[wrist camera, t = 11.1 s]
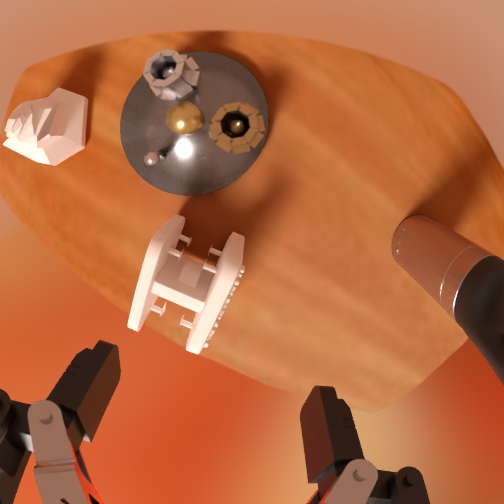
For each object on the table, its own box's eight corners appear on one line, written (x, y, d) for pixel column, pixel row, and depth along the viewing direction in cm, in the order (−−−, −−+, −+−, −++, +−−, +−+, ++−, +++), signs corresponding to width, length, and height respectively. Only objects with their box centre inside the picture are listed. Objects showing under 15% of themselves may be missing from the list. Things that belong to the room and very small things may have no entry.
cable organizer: (180, 203, 37) (152, 227, 27) (249, 233, 39) (248, 268, 28) (150, 289, 42) (124, 332, 32) (210, 314, 44) (199, 364, 33)
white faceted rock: (50, 84, 31) (12, 54, 17) (109, 113, 35) (77, 80, 21) (15, 147, 31) (-34, 136, 18) (70, 182, 35) (23, 179, 22)
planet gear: (206, 59, 29) (197, 44, 23) (194, 103, 31) (183, 95, 25) (160, 56, 28) (145, 43, 23) (149, 99, 31) (131, 92, 25)
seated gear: (258, 100, 31) (259, 91, 25) (267, 148, 33) (270, 147, 28) (208, 109, 31) (200, 102, 26) (217, 157, 34) (210, 158, 28)
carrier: (282, 67, 30) (287, 55, 25) (249, 206, 38) (249, 216, 32) (142, 51, 29) (127, 39, 24) (115, 182, 36) (97, 188, 31)
